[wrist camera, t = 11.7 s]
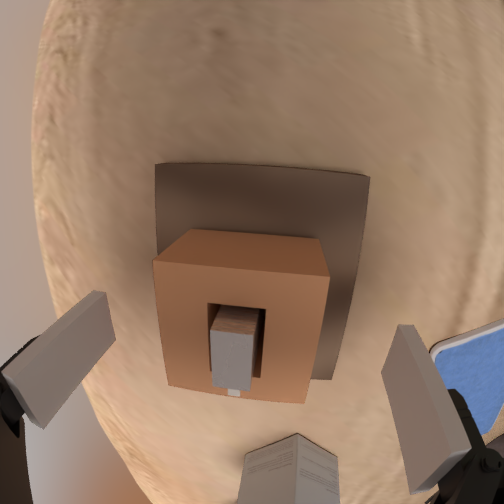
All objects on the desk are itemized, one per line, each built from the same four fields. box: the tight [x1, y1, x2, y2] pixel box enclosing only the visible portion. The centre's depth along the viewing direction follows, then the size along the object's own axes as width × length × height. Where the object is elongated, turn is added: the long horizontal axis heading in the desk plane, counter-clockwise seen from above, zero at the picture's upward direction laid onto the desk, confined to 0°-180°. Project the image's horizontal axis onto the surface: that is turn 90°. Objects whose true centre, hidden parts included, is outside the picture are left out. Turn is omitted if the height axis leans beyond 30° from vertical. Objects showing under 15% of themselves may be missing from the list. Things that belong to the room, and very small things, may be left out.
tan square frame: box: [152, 229, 330, 404], centre depth 15 cm, size 7×7×5 cm
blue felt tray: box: [430, 318, 504, 435], centre depth 21 cm, size 19×13×1 cm, turn 14°
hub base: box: [155, 163, 370, 391], centre depth 15 cm, size 14×12×8 cm
